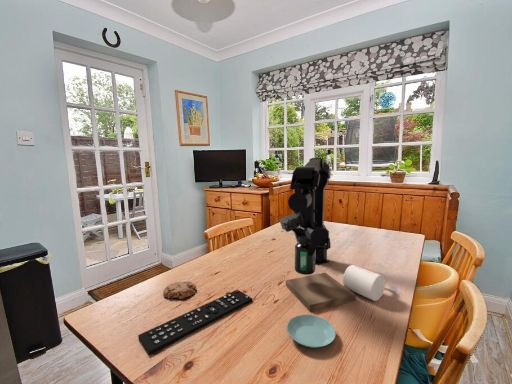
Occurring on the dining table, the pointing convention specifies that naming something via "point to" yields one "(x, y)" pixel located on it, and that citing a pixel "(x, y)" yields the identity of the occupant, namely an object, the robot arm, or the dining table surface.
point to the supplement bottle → (304, 257)
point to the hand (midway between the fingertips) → (305, 251)
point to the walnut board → (319, 291)
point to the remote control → (192, 321)
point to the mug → (364, 282)
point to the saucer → (311, 331)
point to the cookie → (179, 290)
